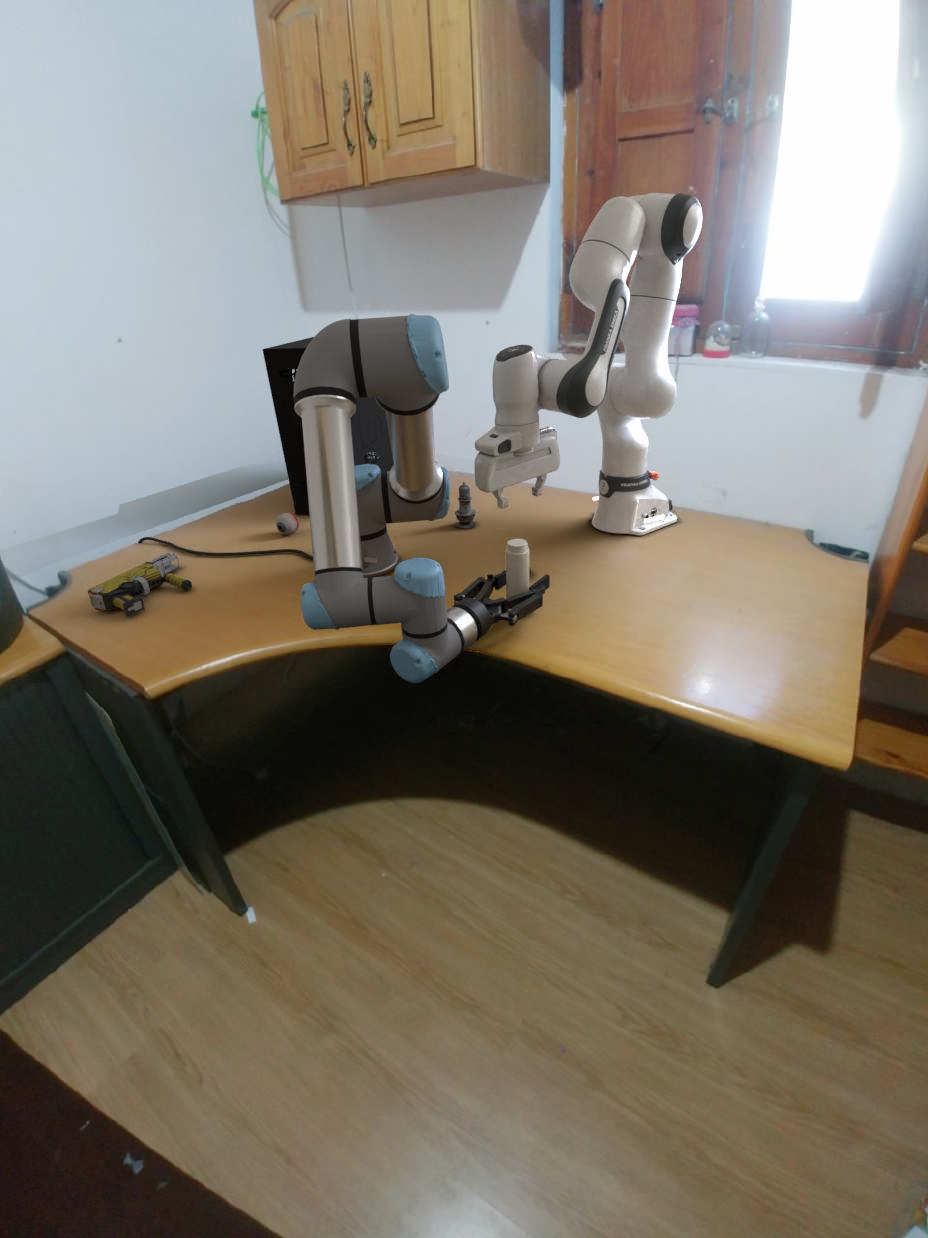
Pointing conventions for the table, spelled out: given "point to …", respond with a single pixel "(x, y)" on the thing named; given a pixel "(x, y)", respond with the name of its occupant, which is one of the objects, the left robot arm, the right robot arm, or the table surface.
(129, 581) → the toy gun
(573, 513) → the table surface
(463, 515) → the grey chess piece
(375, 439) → the black computer case
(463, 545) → the table surface
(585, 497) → the table surface
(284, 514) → the eyeball
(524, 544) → the jar
